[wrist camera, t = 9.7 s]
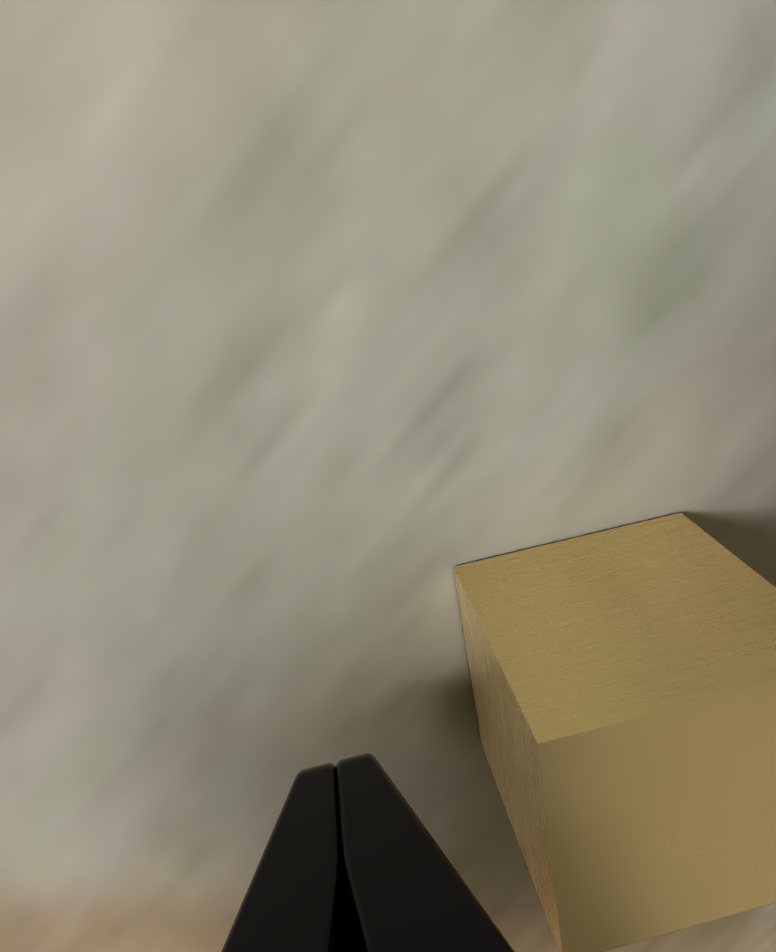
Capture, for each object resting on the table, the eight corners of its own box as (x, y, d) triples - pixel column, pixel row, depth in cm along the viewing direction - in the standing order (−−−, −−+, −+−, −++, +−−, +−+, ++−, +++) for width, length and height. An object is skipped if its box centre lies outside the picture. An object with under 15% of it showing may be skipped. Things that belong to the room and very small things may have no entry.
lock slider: (452, 566, 9) (537, 744, 6) (681, 512, 9) (865, 658, 6) (481, 746, 10) (563, 962, 7) (682, 694, 10) (836, 884, 7)
